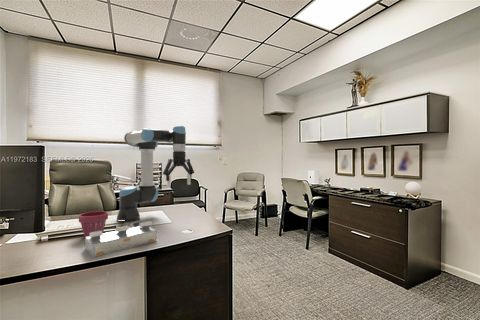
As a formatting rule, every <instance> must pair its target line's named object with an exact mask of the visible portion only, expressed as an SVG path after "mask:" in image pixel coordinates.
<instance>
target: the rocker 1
mask: <svg viewBox="0 0 480 320" xmlns="http://www.w3.org/2000/svg"><path fill="white" fill-rule="evenodd" d="M89 234H90V237H94V236H99V235H102V231H101V230H99V231H94V232H91V233H89Z"/></svg>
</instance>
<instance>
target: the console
mask: <svg viewBox="0 0 480 320" xmlns="http://www.w3.org/2000/svg"><path fill="white" fill-rule="evenodd" d="M84 238H85V239H84V241H85V242H84V244H85V245H84V247H85V250H86V252H87V253H88V254H89V256H90V257H91V258H96V257H97V258H98V257H100V256H104V255H108V253H109V254H112V252H113V253H115V252H120V251H124V250H129V249H131V248H134V247H135V248H136V247H140V246H143V245H147V244H151V243H155V242H157V229H156V228H153V227H151V226H150V225H148V226H142V227H140V226H137V227H132V228H129V230H124V231H117V232H116V230H113V231H107V232H103V233H102V235H99V236H94V237H90V236H87V237H84Z"/></svg>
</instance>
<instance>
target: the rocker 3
mask: <svg viewBox="0 0 480 320" xmlns="http://www.w3.org/2000/svg"><path fill="white" fill-rule="evenodd" d="M142 222H143V223H139V225H140V227H142V226H148V225H149V226H152V225H153V224H152V223H153V222H152V220H148V221H142Z"/></svg>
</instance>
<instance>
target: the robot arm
mask: <svg viewBox="0 0 480 320" xmlns="http://www.w3.org/2000/svg"><path fill="white" fill-rule="evenodd" d="M186 133H187V132H186V127H185V126H184V125H173V127H172V130H170V129H169V130H168V129H158V128H157V129H156V128H155V129H154V128H149V127H148V128H142V130H139V131H137V130H131V131H128V132H126V133H125V135H124V136H123V139H124V142H125V143H126V145H128V146H131V147H134V148H135V147H136V148H138V150H139V151H140V183H139V184H138V186H135V185H133V186H126V187H123V188H121V189H120V190H119V196H118V197H119V210H118V213H117V214H116V215H117V217H116V221H117V220H125V221H126V222H127V223H128V222H133V221H137V220H140V218H141V216H140V211H139V209H138V204H139V205H140V204H145V203H151V202H155V201H157V199H158V196H159V190H158V186H156V184H155V183H154V151H155V150H156V148H157V147H158V145H159V142H161V143H172V158H168V160H167V163H166V166H165V168H164V170H163V172H162V175H164V176H165V181H166V183H167V187H169V188H171V187H172V186H171V185H172V182H171V181H172V179H171V178H172V175H171V174H172V172H173V171H174V170H175V168H176V167H183V169H184V170H185V172H186V173H187V176H186V184H187V186H188V185H189V186H190V185H191V180H192V175H193V174H195V170H194V168H193V165H192V163H191V159H190V158H186V152H185V151H186V140H187V139H186V138H187V137H186ZM126 222H125V223H126Z"/></svg>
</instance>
